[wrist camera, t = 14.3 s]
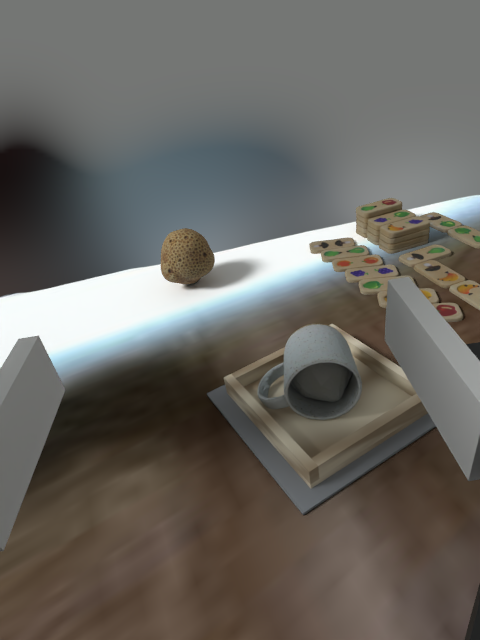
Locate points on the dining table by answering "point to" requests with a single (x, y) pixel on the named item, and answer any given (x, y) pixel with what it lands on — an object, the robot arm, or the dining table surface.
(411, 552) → the dining table surface
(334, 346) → the ceramic mug
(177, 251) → the natural sponge
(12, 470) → the robot arm
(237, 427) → the mat
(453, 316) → the pile of dominoes
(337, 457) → the tray
